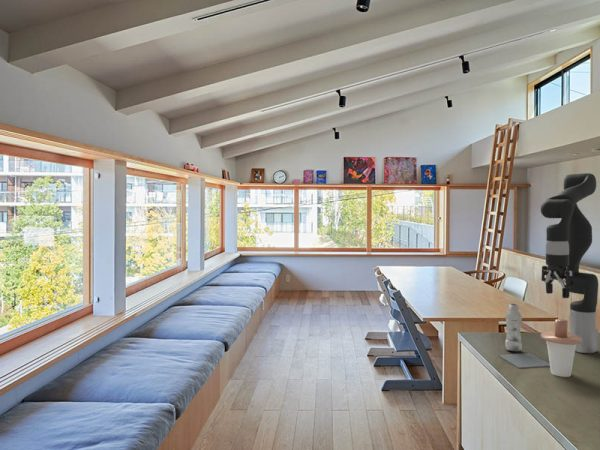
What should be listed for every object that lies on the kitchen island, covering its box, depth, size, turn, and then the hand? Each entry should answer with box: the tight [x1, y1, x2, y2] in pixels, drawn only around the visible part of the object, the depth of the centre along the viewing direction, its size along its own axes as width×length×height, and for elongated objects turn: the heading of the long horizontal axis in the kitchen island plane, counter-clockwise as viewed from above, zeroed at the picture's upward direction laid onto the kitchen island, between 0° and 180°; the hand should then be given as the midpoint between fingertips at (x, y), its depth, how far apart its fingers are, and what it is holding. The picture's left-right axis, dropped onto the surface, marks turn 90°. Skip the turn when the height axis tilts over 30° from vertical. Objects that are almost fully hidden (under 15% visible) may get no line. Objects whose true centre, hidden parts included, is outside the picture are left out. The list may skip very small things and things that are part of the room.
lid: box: [540, 318, 582, 345], centre depth 160 cm, size 13×13×7 cm
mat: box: [497, 352, 550, 369], centre depth 174 cm, size 14×14×1 cm
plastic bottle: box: [504, 303, 523, 352], centre depth 185 cm, size 6×7×20 cm
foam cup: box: [545, 340, 576, 378], centre depth 160 cm, size 10×9×13 cm
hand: (557, 295), depth 163 cm, fingers open, 8 cm apart
